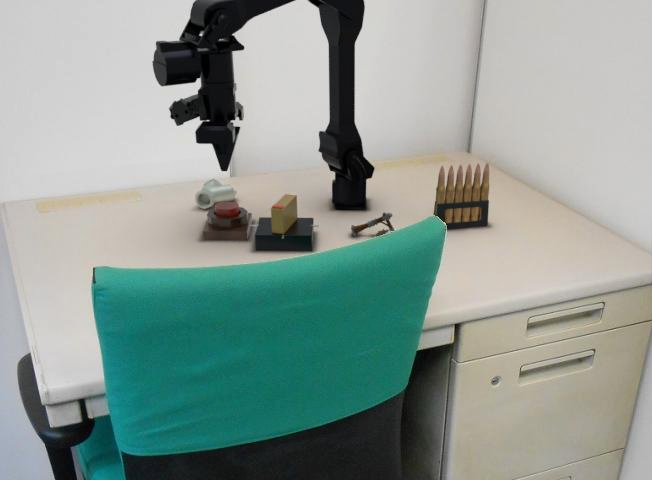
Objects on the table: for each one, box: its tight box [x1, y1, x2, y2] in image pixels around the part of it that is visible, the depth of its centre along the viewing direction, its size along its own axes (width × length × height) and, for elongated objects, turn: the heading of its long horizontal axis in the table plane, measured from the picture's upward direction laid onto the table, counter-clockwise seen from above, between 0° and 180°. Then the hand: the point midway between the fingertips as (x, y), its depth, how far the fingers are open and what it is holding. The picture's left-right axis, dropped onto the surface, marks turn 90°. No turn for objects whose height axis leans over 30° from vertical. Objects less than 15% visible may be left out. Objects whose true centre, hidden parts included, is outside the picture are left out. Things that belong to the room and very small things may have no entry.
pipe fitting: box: [194, 178, 238, 210], centre depth 169 cm, size 8×4×7 cm
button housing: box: [202, 206, 253, 241], centre depth 156 cm, size 8×10×4 cm
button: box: [214, 201, 240, 217], centre depth 155 cm, size 4×4×2 cm
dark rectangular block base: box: [251, 216, 319, 252], centre depth 152 cm, size 12×12×3 cm
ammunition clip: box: [433, 162, 490, 230], centre depth 157 cm, size 11×2×12 cm, turn 104°
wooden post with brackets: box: [350, 212, 395, 238], centre depth 155 cm, size 2×8×4 cm, turn 86°
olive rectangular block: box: [270, 193, 298, 234], centre depth 150 cm, size 8×2×5 cm, turn 166°
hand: (224, 170), depth 151 cm, fingers closed
